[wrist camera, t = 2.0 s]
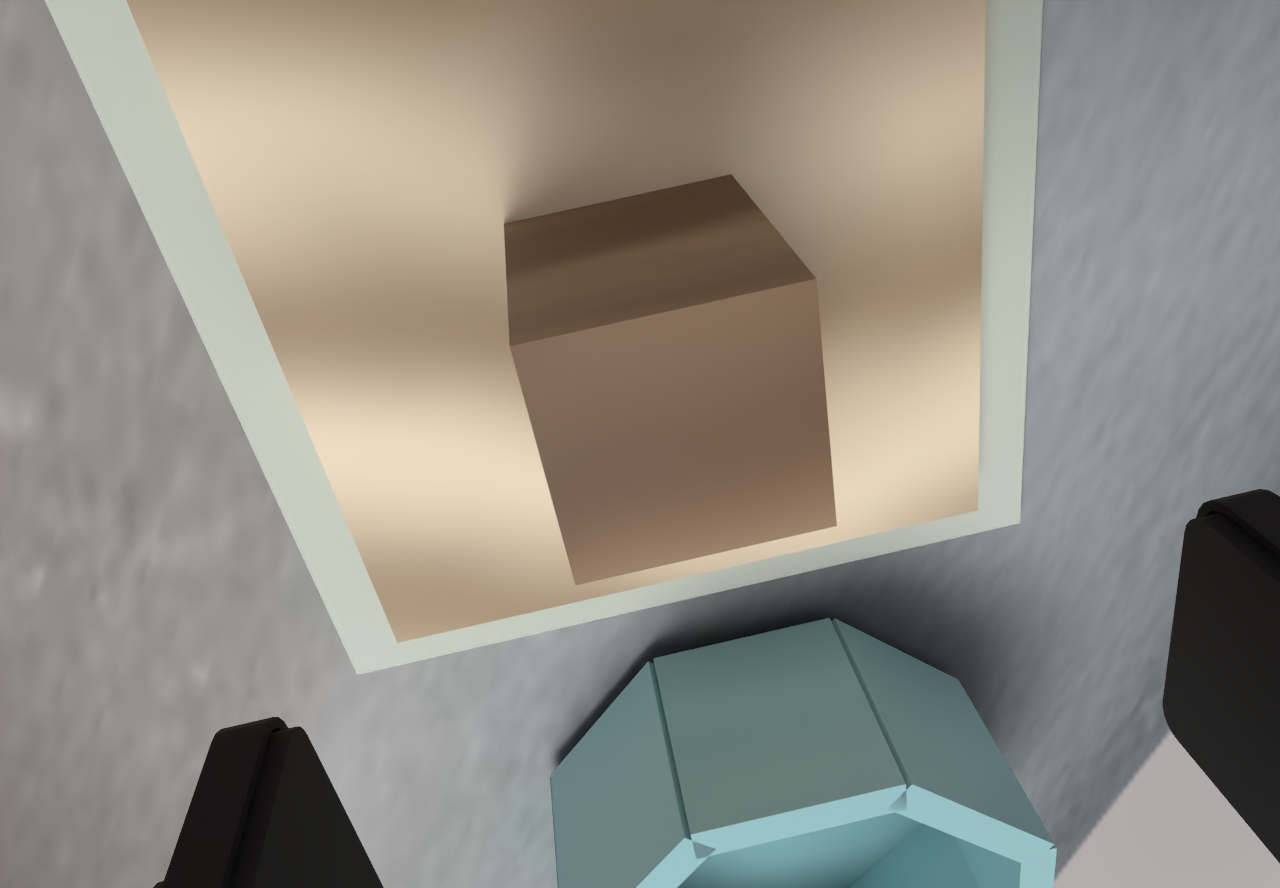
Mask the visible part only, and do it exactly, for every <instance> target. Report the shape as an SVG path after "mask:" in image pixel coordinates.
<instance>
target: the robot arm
mask: <svg viewBox="0 0 1280 888" xmlns="http://www.w3.org/2000/svg"><path fill="white" fill-rule="evenodd" d="M1163 711H1164V716H1165V718H1166V721H1167V724H1168V726H1169V728H1170V730H1171V732H1172V733H1173V735H1174V736H1175V737H1176V739H1177V740H1178V741H1179V742H1180V744H1181V745H1182V746H1183V747H1184V748H1185V749H1186V751H1187V752H1188V753H1189V755H1190V756H1191V757H1192V758H1193V759H1194V760H1195V762H1196V763H1197V764H1198V765H1199V766H1200V768H1201V769H1202V770H1203V771H1204V772H1205V774H1206V775H1207V776H1208V777H1209V779H1210V780H1211V781H1212V782H1213V783H1214V785H1215V786H1216V787H1217V788H1218V789H1219V790H1220V792H1221V793H1222V794H1223V795H1224V797H1225V798H1226V799H1227V800H1228V801H1229V803H1230V804H1231V805H1232V806H1233V807H1234V809H1235V810H1236V811H1237V812H1238V813H1239V815H1240V816H1241V817H1242V818H1243V819H1244V820H1245V822H1246V823H1247V824H1248V825H1249V827H1250V828H1251V829H1252V830H1253V831H1254V833H1255V834H1256V835H1257V836H1258V837H1259V839H1260V840H1261V841H1262V842H1263V843H1264V845H1265V846H1266V847H1267V848H1268V850H1269V851H1270V852H1271V853H1272V854H1273V855H1274V857H1275V858H1276V859H1277V860H1278V862H1279V863H1280V497H1279V496H1278V495H1276V494H1274V493H1273V492H1271V491H1269V490H1262V489H1258V490H1254V491H1249V492H1245V493H1241V494H1236V495H1232V496H1228V497H1223V498H1219V499H1215V500H1210V501H1208V502H1205V503H1203V505H1202V506H1201V507H1200V508H1199V510H1198V513H1197V517H1196V518H1195V519H1192V520H1190V521H1189V522H1188V524H1187V525H1186V528H1185V532H1184V540H1183V548H1182V556H1181V563H1180V571H1179V579H1178V587H1177V594H1176V602H1175V610H1174V618H1173V625H1172V633H1171V641H1170V649H1169V656H1168V664H1167V672H1166V680H1165V688H1164V695H1163ZM153 888H383V886H382V884H381V882H380V880H379V878H378V876H377V874H376V872H375V870H374V868H373V866H372V864H371V861H370V859H369V857H368V855H367V853H366V851H365V849H364V847H363V845H362V843H361V841H360V839H359V837H358V835H357V833H356V831H355V829H354V827H353V825H352V823H351V821H350V819H349V817H348V815H347V813H346V811H345V809H344V807H343V805H342V803H341V801H340V799H339V797H338V795H337V793H336V791H335V789H334V787H333V785H332V783H331V781H330V779H329V777H328V775H327V773H326V771H325V769H324V767H323V765H322V763H321V761H320V759H319V757H318V755H317V753H316V751H315V749H314V747H313V745H312V743H311V741H310V739H309V737H308V735H307V734H306V732H305V731H304V729H302V728H301V727H293V728H288V727H287V725H286V724H285V722H284V721H283V720H282V719H280V718H279V717H272V718H268V719H263V720H259V721H255V722H250V723H246V724H242V725H237V726H233V727H229V728H224V729H221V730H220V731H218V732H217V733H216V734H215V736H214V738H213V740H212V742H211V745H210V748H209V751H208V754H207V757H206V760H205V763H204V766H203V768H202V771H201V774H200V777H199V780H198V783H197V786H196V789H195V792H194V795H193V798H192V801H191V804H190V806H189V809H188V812H187V815H186V818H185V821H184V824H183V827H182V830H181V833H180V836H179V839H178V841H177V844H176V847H175V850H174V853H173V856H172V859H171V862H170V865H169V868H168V871H167V874H166V876H165V879H164V881H162V882H159V883H157V884H156V885H155V886H154V887H153Z"/></svg>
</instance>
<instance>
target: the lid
mask: <svg viewBox="0 0 1280 888" xmlns="http://www.w3.org/2000/svg"><path fill="white" fill-rule="evenodd" d="M126 1H127V4H128V6H129V8H130V11H131V13H132V15H133V18H134V20H135V22H136V25H137V27H138V30H139V32H140V34H141V37H142V39H143V41H144V44H145V46H146V49H147V51H148V53H149V56H150V58H151V60H152V63H153V65H154V67H155V70H156V72H157V75H158V77H159V79H160V82H161V84H162V86H163V89H164V91H165V94H166V96H167V98H168V101H169V103H170V105H171V108H172V110H173V113H174V115H175V117H176V120H177V122H178V124H179V127H180V129H181V131H182V134H183V136H184V139H185V141H186V143H187V146H188V148H189V150H190V153H191V155H192V158H193V160H194V162H195V165H196V167H197V169H198V172H199V174H200V176H201V179H202V181H203V184H204V186H205V188H206V191H207V193H208V195H209V198H210V200H211V203H212V205H213V207H214V210H215V212H216V214H217V217H218V219H219V222H220V224H221V226H222V229H223V231H224V233H225V236H226V238H227V240H228V243H229V245H230V248H231V250H232V252H233V255H234V257H235V259H236V262H237V264H238V267H239V269H240V271H241V274H242V276H243V278H244V281H245V283H246V285H247V288H248V290H249V293H250V295H251V297H252V300H253V302H254V304H255V307H256V309H257V312H258V314H259V316H260V319H261V321H262V323H263V326H264V328H265V330H266V333H267V335H268V338H269V340H270V342H271V345H272V347H273V349H274V352H275V354H276V357H277V359H278V361H279V364H280V366H281V368H282V371H283V373H284V376H285V378H286V380H287V383H288V385H289V387H290V390H291V392H292V394H293V397H294V399H295V402H296V404H297V406H298V409H299V411H300V413H301V416H302V418H303V421H304V423H305V425H306V428H307V430H308V432H309V435H310V437H311V439H312V442H313V444H314V447H315V449H316V451H317V454H318V456H319V458H320V461H321V463H322V466H323V468H324V470H325V473H326V475H327V477H328V480H329V482H330V484H331V487H332V489H333V492H334V494H335V496H336V499H337V501H338V503H339V506H340V508H341V511H342V513H343V515H344V518H345V520H346V522H347V525H348V527H349V530H350V532H351V534H352V537H353V539H354V541H355V544H356V546H357V548H358V551H359V553H360V556H361V558H362V560H363V563H364V565H365V567H366V570H367V572H368V575H369V577H370V579H371V582H372V584H373V586H374V589H375V591H376V593H377V596H378V598H379V601H380V603H381V605H382V608H383V610H384V612H385V615H386V617H387V620H388V622H389V624H390V627H391V629H392V631H393V634H394V636H395V639H396V641H397V643H400V642H404V641H408V640H413V639H417V638H421V637H426V636H430V635H435V634H439V633H443V632H448V631H452V630H457V629H461V628H465V627H470V626H474V625H478V624H483V623H487V622H492V621H496V620H500V619H505V618H509V617H513V616H518V615H522V614H527V613H531V612H535V611H540V610H544V609H549V608H553V607H557V606H562V605H566V604H570V603H575V602H579V601H584V600H588V599H592V598H597V597H601V596H606V595H610V594H614V593H619V592H623V591H627V590H632V589H636V588H641V587H645V586H649V585H654V584H658V583H662V582H667V581H671V580H676V579H680V578H684V577H689V576H693V575H698V574H702V573H706V572H711V571H715V570H719V569H724V568H728V567H733V566H737V565H741V564H746V563H750V562H755V561H759V560H763V559H768V558H772V557H776V556H781V555H785V554H790V553H794V552H798V551H803V550H807V549H811V548H816V547H820V546H825V545H829V544H833V543H838V542H842V541H847V540H851V539H855V538H860V537H864V536H868V535H873V534H877V533H882V532H886V531H890V530H895V529H899V528H904V527H908V526H912V525H917V524H921V523H925V522H930V521H934V520H939V519H943V518H947V517H952V516H956V515H960V514H965V513H969V512H974V511H978V482H979V416H980V349H981V283H982V216H983V150H984V83H985V17H986V0H126Z"/></svg>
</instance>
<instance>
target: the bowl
mask: <svg viewBox="0 0 1280 888" xmlns="http://www.w3.org/2000/svg"><path fill="white" fill-rule="evenodd" d="M653 660H654V664H653V663H651V662H649V661H648V662H647V663H646V664H645V665H644V667H643V668H642V669H641V670H640V671H639V672H638V674H637V675H636V676H635V677H634V678H633V679H632V681H631V682H630V683H629V684H628V685H627V686H626V688H625V689H624V690H623V691H622V692H621V693H620V695H619V696H618V697H617V698H616V699H615V700H614V702H613V703H612V704H611V705H610V706H609V707H608V709H607V710H606V711H605V712H604V713H603V714H602V716H601V717H600V718H599V719H598V720H597V721H596V723H595V724H594V725H593V726H592V727H591V728H590V730H589V731H588V732H587V733H586V734H585V735H584V737H583V738H582V739H581V740H580V741H579V742H578V744H577V745H576V746H575V747H574V748H573V749H572V751H571V752H570V753H569V754H568V755H567V756H566V758H565V759H564V760H563V761H562V762H561V763H560V765H559V766H558V767H557V768H556V769H555V770H554V772H553V773H552V774H551V778H550V782H551V797H552V811H553V825H554V840H555V854H556V868H557V883H558V888H1053V885H1054V873H1055V862H1056V851H1057V847H1056V845H1055V844H1054V842H1053V840H1052V838H1051V837H1050V835H1049V833H1048V832H1047V830H1046V828H1045V827H1044V825H1043V823H1042V821H1041V820H1040V818H1039V816H1038V815H1037V813H1036V811H1035V809H1034V808H1033V806H1032V804H1031V803H1030V801H1029V799H1028V798H1027V796H1026V794H1025V792H1024V791H1023V789H1022V787H1021V786H1020V784H1019V782H1018V780H1017V779H1016V777H1015V775H1014V774H1013V772H1012V770H1011V768H1010V767H1009V765H1008V763H1007V762H1006V760H1005V758H1004V757H1003V755H1002V753H1001V751H1000V750H999V748H998V746H997V745H996V743H995V741H994V739H993V738H992V736H991V734H990V733H989V731H988V729H987V727H986V726H985V724H984V722H983V721H982V719H981V717H980V716H979V714H978V712H977V710H976V709H975V707H974V705H973V704H972V702H971V700H970V698H969V697H968V695H967V693H966V692H965V690H964V688H963V687H962V685H961V683H960V682H959V680H958V679H956V678H954V677H952V676H950V675H948V674H946V673H944V672H942V671H940V670H938V669H936V668H934V667H932V666H930V665H928V664H926V663H924V662H922V661H920V660H918V659H916V658H914V657H912V656H910V655H908V654H906V653H904V652H902V651H900V650H898V649H896V648H894V647H892V646H890V645H888V644H886V643H884V642H882V641H880V640H878V639H876V638H874V637H872V636H870V635H868V634H866V633H864V632H862V631H860V630H858V629H856V628H854V627H852V626H850V625H847V624H845V623H843V622H841V621H839V620H837V619H834V620H833V621H832V622H831V620H830V618H826V619H822V620H818V621H813V622H809V623H805V624H800V625H796V626H792V627H787V628H783V629H778V630H774V631H770V632H765V633H761V634H757V635H752V636H748V637H744V638H739V639H735V640H731V641H726V642H722V643H718V644H713V645H709V646H705V647H700V648H696V649H692V650H687V651H683V652H679V653H674V654H670V655H666V656H661V657H657V658H653Z"/></svg>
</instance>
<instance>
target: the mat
mask: <svg viewBox="0 0 1280 888" xmlns="http://www.w3.org/2000/svg"><path fill="white" fill-rule="evenodd" d="M45 2H46V4H47V6H48V8H49V11H50V13H51V15H52V17H53V19H54V21H55V24H56V26H57V28H58V30H59V32H60V34H61V36H62V39H63V41H64V43H65V45H66V47H67V49H68V52H69V54H70V56H71V58H72V60H73V62H74V65H75V67H76V69H77V71H78V73H79V75H80V77H81V80H82V82H83V84H84V86H85V88H86V90H87V93H88V95H89V97H90V99H91V101H92V103H93V106H94V108H95V110H96V112H97V114H98V116H99V118H100V121H101V123H102V125H103V127H104V129H105V131H106V134H107V136H108V138H109V140H110V142H111V144H112V147H113V149H114V151H115V153H116V155H117V157H118V159H119V162H120V164H121V166H122V168H123V170H124V172H125V175H126V177H127V179H128V181H129V183H130V185H131V188H132V190H133V192H134V194H135V196H136V198H137V200H138V203H139V205H140V207H141V209H142V211H143V213H144V216H145V218H146V220H147V222H148V224H149V226H150V229H151V231H152V233H153V235H154V237H155V239H156V241H157V244H158V246H159V248H160V250H161V252H162V254H163V257H164V259H165V261H166V263H167V265H168V267H169V270H170V272H171V274H172V276H173V278H174V280H175V282H176V285H177V287H178V289H179V291H180V293H181V295H182V298H183V300H184V302H185V304H186V306H187V308H188V311H189V313H190V315H191V317H192V319H193V321H194V323H195V326H196V328H197V330H198V332H199V334H200V336H201V339H202V341H203V343H204V345H205V347H206V349H207V352H208V354H209V356H210V358H211V360H212V362H213V364H214V367H215V369H216V371H217V373H218V375H219V377H220V380H221V382H222V384H223V386H224V388H225V390H226V393H227V395H228V397H229V399H230V401H231V403H232V405H233V408H234V410H235V412H236V414H237V416H238V418H239V421H240V423H241V425H242V427H243V429H244V431H245V434H246V436H247V438H248V440H249V442H250V444H251V446H252V449H253V451H254V453H255V455H256V457H257V459H258V462H259V464H260V466H261V468H262V470H263V472H264V475H265V477H266V479H267V481H268V483H269V485H270V487H271V490H272V492H273V494H274V496H275V498H276V500H277V503H278V505H279V507H280V509H281V511H282V513H283V516H284V518H285V520H286V522H287V524H288V526H289V528H290V531H291V533H292V535H293V537H294V539H295V541H296V544H297V546H298V548H299V550H300V552H301V554H302V556H303V559H304V561H305V563H306V565H307V567H308V569H309V572H310V574H311V576H312V578H313V580H314V582H315V585H316V587H317V589H318V591H319V593H320V595H321V597H322V600H323V602H324V604H325V606H326V608H327V610H328V613H329V615H330V617H331V619H332V621H333V623H334V626H335V628H336V630H337V632H338V634H339V636H340V638H341V641H342V643H343V645H344V647H345V649H346V651H347V654H348V656H349V658H350V660H351V662H352V664H353V667H354V669H355V671H356V673H357V675H358V674H363V673H367V672H371V671H376V670H380V669H385V668H389V667H393V666H398V665H402V664H406V663H411V662H415V661H420V660H424V659H428V658H433V657H437V656H441V655H446V654H450V653H455V652H459V651H463V650H468V649H472V648H476V647H481V646H485V645H489V644H494V643H498V642H503V641H507V640H511V639H516V638H520V637H524V636H529V635H533V634H538V633H542V632H546V631H551V630H555V629H559V628H564V627H568V626H573V625H577V624H581V623H586V622H590V621H594V620H599V619H603V618H607V617H612V616H616V615H621V614H625V613H629V612H634V611H638V610H642V609H647V608H651V607H656V606H660V605H664V604H669V603H673V602H677V601H682V600H686V599H691V598H695V597H699V596H704V595H708V594H712V593H717V592H721V591H725V590H730V589H734V588H739V587H743V586H747V585H752V584H756V583H760V582H765V581H769V580H774V579H778V578H782V577H787V576H791V575H795V574H800V573H804V572H809V571H813V570H817V569H822V568H826V567H830V566H835V565H839V564H843V563H848V562H852V561H857V560H861V559H865V558H870V557H874V556H878V555H883V554H887V553H892V552H896V551H900V550H905V549H909V548H913V547H918V546H922V545H927V544H931V543H935V542H940V541H944V540H948V539H953V538H957V537H961V536H966V535H970V534H975V533H979V532H983V531H988V530H992V529H996V528H1001V527H1005V526H1010V525H1014V524H1018V523H1020V511H1021V489H1022V466H1023V444H1024V421H1025V398H1026V376H1027V353H1028V330H1029V308H1030V285H1031V263H1032V240H1033V217H1034V195H1035V172H1036V149H1037V127H1038V104H1039V82H1040V59H1041V36H1042V14H1043V0H986V17H985V83H984V150H983V216H982V283H981V349H980V416H979V482H978V511H974V512H969V513H965V514H960V515H956V516H952V517H947V518H943V519H939V520H934V521H930V522H925V523H921V524H917V525H912V526H908V527H904V528H899V529H895V530H890V531H886V532H882V533H877V534H873V535H868V536H864V537H860V538H855V539H851V540H847V541H842V542H838V543H833V544H829V545H825V546H820V547H816V548H811V549H807V550H803V551H798V552H794V553H790V554H785V555H781V556H776V557H772V558H768V559H763V560H759V561H755V562H750V563H746V564H741V565H737V566H733V567H728V568H724V569H719V570H715V571H711V572H706V573H702V574H698V575H693V576H689V577H684V578H680V579H676V580H671V581H667V582H662V583H658V584H654V585H649V586H645V587H641V588H636V589H632V590H627V591H623V592H619V593H614V594H610V595H606V596H601V597H597V598H592V599H588V600H584V601H579V602H575V603H570V604H566V605H562V606H557V607H553V608H549V609H544V610H540V611H535V612H531V613H527V614H522V615H518V616H513V617H509V618H505V619H500V620H496V621H492V622H487V623H483V624H478V625H474V626H470V627H465V628H461V629H457V630H452V631H448V632H443V633H439V634H435V635H430V636H426V637H421V638H417V639H413V640H408V641H404V642H400V643H397V641H396V639H395V636H394V634H393V631H392V629H391V627H390V624H389V622H388V620H387V617H386V615H385V612H384V610H383V608H382V605H381V603H380V601H379V598H378V596H377V593H376V591H375V589H374V586H373V584H372V582H371V579H370V577H369V575H368V572H367V570H366V567H365V565H364V563H363V560H362V558H361V556H360V553H359V551H358V548H357V546H356V544H355V541H354V539H353V537H352V534H351V532H350V530H349V527H348V525H347V522H346V520H345V518H344V515H343V513H342V511H341V508H340V506H339V503H338V501H337V499H336V496H335V494H334V492H333V489H332V487H331V484H330V482H329V480H328V477H327V475H326V473H325V470H324V468H323V466H322V463H321V461H320V458H319V456H318V454H317V451H316V449H315V447H314V444H313V442H312V439H311V437H310V435H309V432H308V430H307V428H306V425H305V423H304V421H303V418H302V416H301V413H300V411H299V409H298V406H297V404H296V402H295V399H294V397H293V394H292V392H291V390H290V387H289V385H288V383H287V380H286V378H285V376H284V373H283V371H282V368H281V366H280V364H279V361H278V359H277V357H276V354H275V352H274V349H273V347H272V345H271V342H270V340H269V338H268V335H267V333H266V330H265V328H264V326H263V323H262V321H261V319H260V316H259V314H258V312H257V309H256V307H255V304H254V302H253V300H252V297H251V295H250V293H249V290H248V288H247V285H246V283H245V281H244V278H243V276H242V274H241V271H240V269H239V267H238V264H237V262H236V259H235V257H234V255H233V252H232V250H231V248H230V245H229V243H228V240H227V238H226V236H225V233H224V231H223V229H222V226H221V224H220V222H219V219H218V217H217V214H216V212H215V210H214V207H213V205H212V203H211V200H210V198H209V195H208V193H207V191H206V188H205V186H204V184H203V181H202V179H201V176H200V174H199V172H198V169H197V167H196V165H195V162H194V160H193V158H192V155H191V153H190V150H189V148H188V146H187V143H186V141H185V139H184V136H183V134H182V131H181V129H180V127H179V124H178V122H177V120H176V117H175V115H174V113H173V110H172V108H171V105H170V103H169V101H168V98H167V96H166V94H165V91H164V89H163V86H162V84H161V82H160V79H159V77H158V75H157V72H156V70H155V67H154V65H153V63H152V60H151V58H150V56H149V53H148V51H147V49H146V46H145V44H144V41H143V39H142V37H141V34H140V32H139V30H138V27H137V25H136V22H135V20H134V18H133V15H132V13H131V11H130V8H129V6H128V4H127V1H126V0H45Z"/></svg>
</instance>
